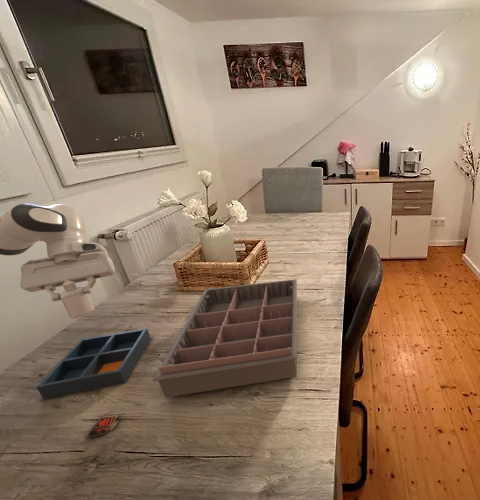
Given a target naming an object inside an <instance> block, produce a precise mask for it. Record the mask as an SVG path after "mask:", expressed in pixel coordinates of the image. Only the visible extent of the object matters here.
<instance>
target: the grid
mask: <svg viewBox="0 0 480 500" xmlns="http://www.w3.org/2000/svg"><path fill="white" fill-rule="evenodd" d="M151 339H152V336H151V334H150V332H149V329H148V328H146V327H145V328H141V329H135V330H128V331H122V332H117V333H111V334H104V335H99V336H91V337H87V338H81V339H80V340H79V341H77V343H76V344H75V345H74V346H73V347H72V348H71V349H70V350H69V351H68V353H66V355H65V356H63V358H62V359H61V360H60V361H59V362H58V363H57V364H56V365H55V366H54V367H53V368H52V370H51V371H50V372H49V373H48V374H47V375H46V376H45V377H44V378H43V379H42V381H41V382H39V384H38V385H37V386H36V390H37V391H38V393H39V394H40V396H41V397H42V399H43V400H47V399H52V398H57V397H61V396H67V395H72V394H77V393H82V392H87V391H91V390H97V389H102V388H106V387H111V386H116V385H122V384H125V383H126V382H127V380H128V379H129V377H130V376H131V374H132V373H133V370H134V369H135V366H136V365H137V363H138V361H139V360H140V358H141V356H142V355H143V353H144V351H145V350H146V348H147V346H148V345H149V343H150V341H151Z"/></svg>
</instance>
